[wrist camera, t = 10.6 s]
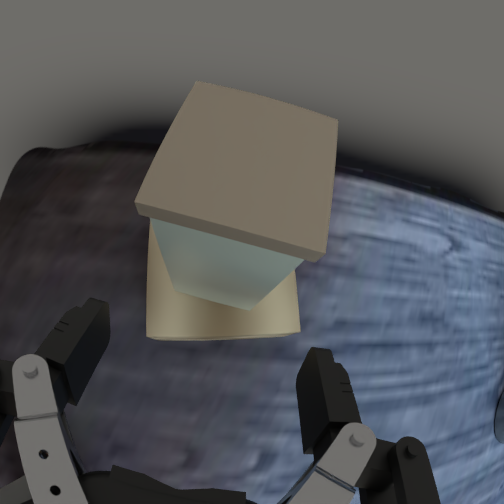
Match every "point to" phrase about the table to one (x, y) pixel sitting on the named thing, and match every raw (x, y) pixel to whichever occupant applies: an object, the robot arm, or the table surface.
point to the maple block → (214, 309)
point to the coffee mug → (15, 492)
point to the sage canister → (240, 193)
